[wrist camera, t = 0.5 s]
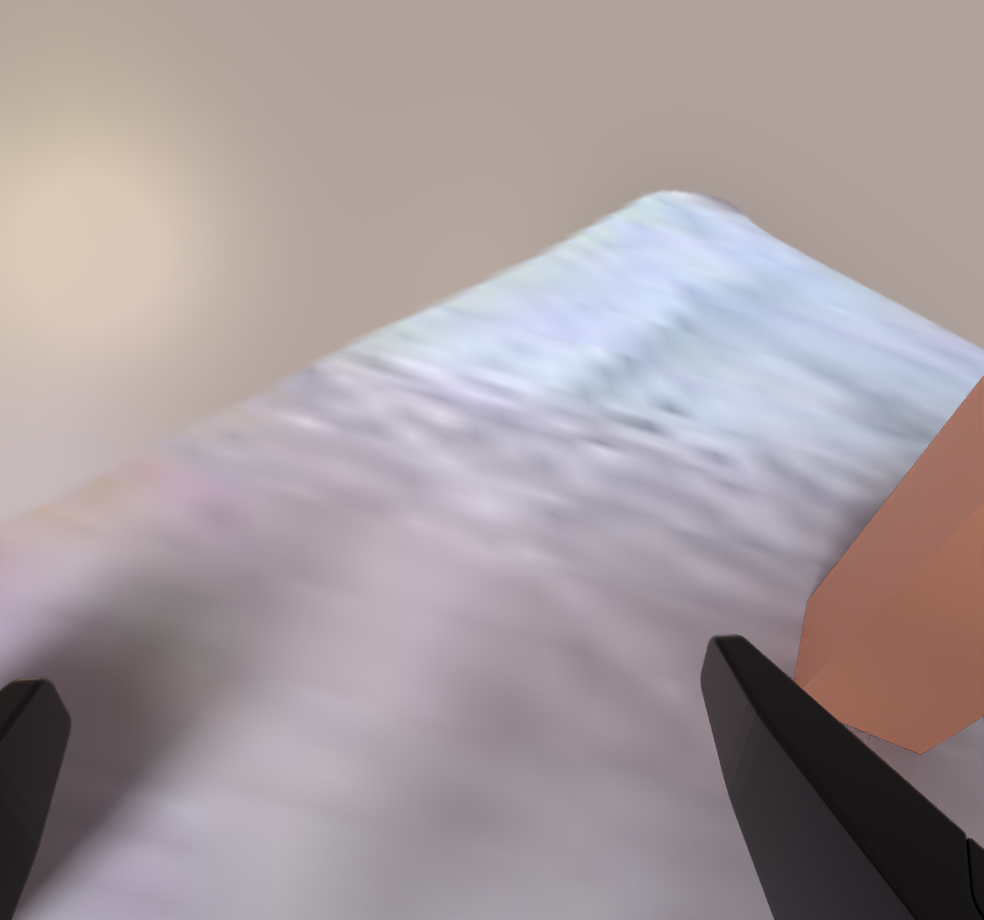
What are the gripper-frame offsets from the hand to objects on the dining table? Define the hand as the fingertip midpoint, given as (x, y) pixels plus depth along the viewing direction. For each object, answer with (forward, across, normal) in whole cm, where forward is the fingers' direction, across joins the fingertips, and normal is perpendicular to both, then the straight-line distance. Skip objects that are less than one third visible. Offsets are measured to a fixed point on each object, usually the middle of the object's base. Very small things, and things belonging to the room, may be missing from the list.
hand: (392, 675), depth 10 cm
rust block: (+10, -16, +14) cm, 23 cm away
